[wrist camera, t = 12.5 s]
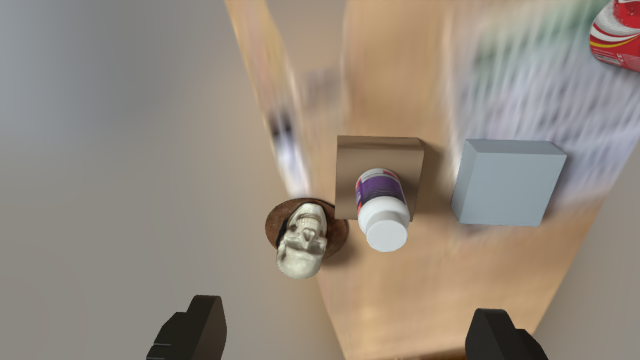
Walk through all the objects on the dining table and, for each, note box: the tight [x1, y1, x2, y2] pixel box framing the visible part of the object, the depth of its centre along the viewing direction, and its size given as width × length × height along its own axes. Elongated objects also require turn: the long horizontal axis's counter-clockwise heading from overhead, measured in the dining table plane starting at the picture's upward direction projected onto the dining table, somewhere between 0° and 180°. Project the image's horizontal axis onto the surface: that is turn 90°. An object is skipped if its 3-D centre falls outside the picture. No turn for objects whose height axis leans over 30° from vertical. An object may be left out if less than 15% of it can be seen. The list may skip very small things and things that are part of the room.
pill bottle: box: [356, 168, 410, 252], centre depth 38 cm, size 5×5×10 cm
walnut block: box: [335, 136, 425, 222], centre depth 44 cm, size 10×10×4 cm
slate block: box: [451, 139, 567, 226], centre depth 43 cm, size 10×10×4 cm
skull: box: [265, 198, 347, 279], centre depth 49 cm, size 12×10×10 cm
